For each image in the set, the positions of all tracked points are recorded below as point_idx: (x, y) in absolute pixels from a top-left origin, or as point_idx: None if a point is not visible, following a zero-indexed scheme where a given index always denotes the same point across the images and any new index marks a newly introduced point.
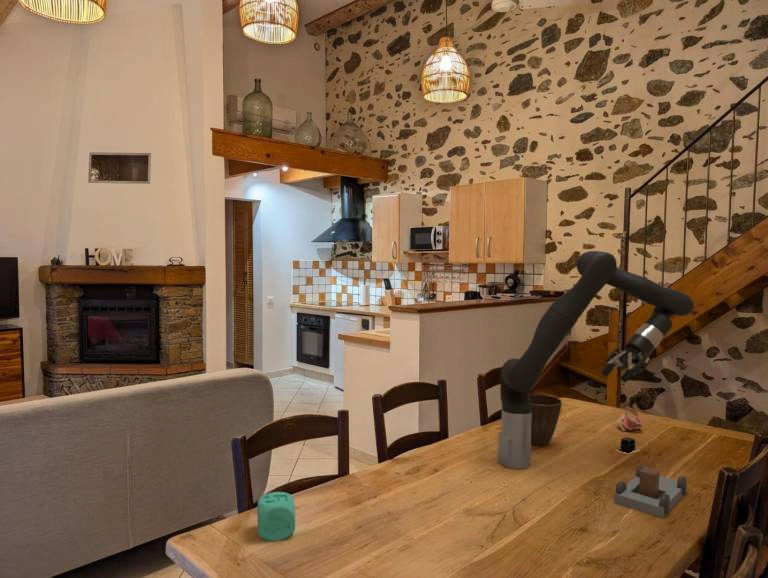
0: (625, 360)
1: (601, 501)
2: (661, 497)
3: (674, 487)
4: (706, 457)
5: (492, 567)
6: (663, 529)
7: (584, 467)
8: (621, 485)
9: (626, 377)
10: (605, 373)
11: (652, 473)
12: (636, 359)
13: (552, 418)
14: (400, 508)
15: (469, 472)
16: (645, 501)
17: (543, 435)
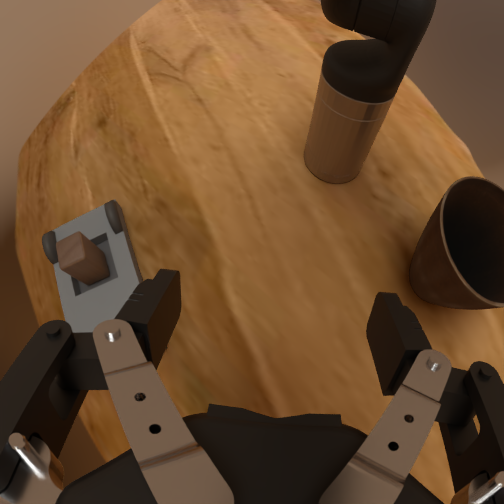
0: (243, 423)
1: (135, 192)
2: (47, 233)
3: (79, 330)
4: None
5: (115, 42)
6: (44, 212)
7: (272, 278)
8: (105, 205)
9: (136, 293)
10: (376, 318)
11: (59, 241)
12: (99, 467)
13: (426, 254)
14: (241, 16)
15: (314, 87)
16: (73, 225)
17: (413, 256)
